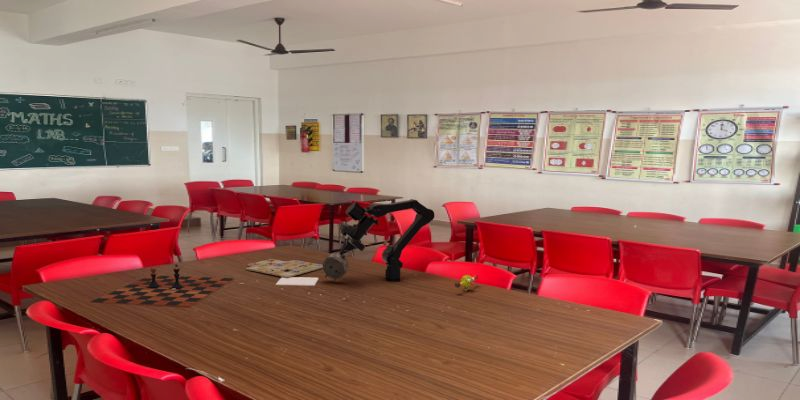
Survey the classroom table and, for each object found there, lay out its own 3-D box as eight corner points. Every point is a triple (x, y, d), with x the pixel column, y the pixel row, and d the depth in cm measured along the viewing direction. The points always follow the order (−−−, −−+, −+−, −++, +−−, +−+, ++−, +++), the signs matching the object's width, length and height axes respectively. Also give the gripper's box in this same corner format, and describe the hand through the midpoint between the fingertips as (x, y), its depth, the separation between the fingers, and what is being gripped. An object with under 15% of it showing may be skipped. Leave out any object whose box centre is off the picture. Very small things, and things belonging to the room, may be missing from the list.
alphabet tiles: (327, 267, 256) (327, 264, 255) (287, 278, 232) (287, 275, 232) (279, 258, 273) (279, 256, 273) (237, 268, 250) (237, 265, 250)
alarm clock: (337, 282, 231) (359, 257, 227) (333, 286, 226) (355, 261, 221) (319, 266, 231) (340, 241, 227) (315, 270, 226) (336, 244, 222)
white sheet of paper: (318, 278, 235) (318, 277, 235) (314, 285, 223) (314, 284, 223) (281, 277, 235) (281, 277, 235) (275, 285, 223) (275, 284, 223)
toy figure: (462, 296, 212) (462, 280, 211) (450, 294, 215) (451, 278, 214) (482, 287, 226) (483, 272, 225) (471, 285, 229) (472, 270, 228)
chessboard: (234, 280, 231) (233, 256, 229) (189, 308, 191) (188, 280, 190) (150, 277, 234) (149, 254, 233) (89, 304, 195) (88, 276, 194)
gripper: (343, 211, 232) (321, 237, 231) (356, 222, 216) (332, 250, 215) (360, 225, 237) (339, 251, 236) (374, 237, 221) (351, 265, 219)
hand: (340, 254), depth 226 cm, fingers closed, pressing on alarm clock
